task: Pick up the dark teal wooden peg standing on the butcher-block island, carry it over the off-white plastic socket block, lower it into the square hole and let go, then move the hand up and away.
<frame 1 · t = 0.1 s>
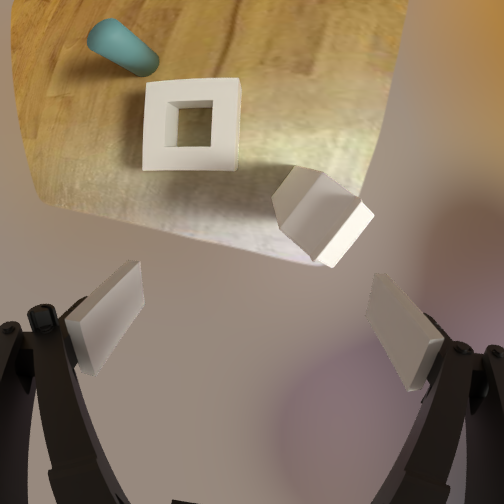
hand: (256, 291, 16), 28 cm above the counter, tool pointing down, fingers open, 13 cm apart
milk: (299, 193, 42), on the counter
socket: (197, 127, 39), on the counter
peg: (145, 63, 35), on the counter
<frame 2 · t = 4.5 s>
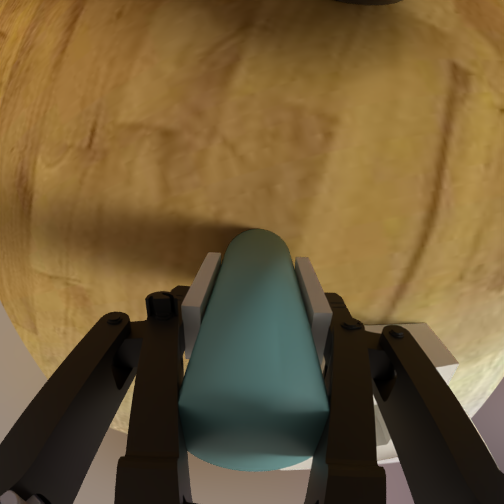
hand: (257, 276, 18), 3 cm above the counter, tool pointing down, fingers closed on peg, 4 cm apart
socket: (350, 379, 23), on the counter
peg: (257, 261, 20), on the counter, touching gripper
when the fingers open (8 cm above the counter, at t = 9.4 s): peg drops 4 cm, resting in socket.
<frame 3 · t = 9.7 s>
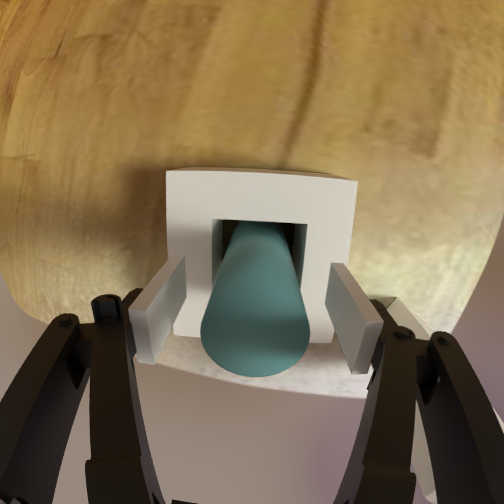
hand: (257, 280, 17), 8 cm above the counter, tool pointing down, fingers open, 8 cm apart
milk: (393, 329, 28), on the counter
socket: (258, 240, 25), on the counter
peg: (258, 240, 25), resting in socket
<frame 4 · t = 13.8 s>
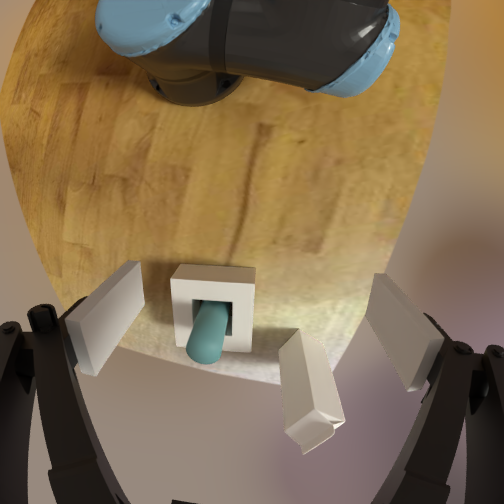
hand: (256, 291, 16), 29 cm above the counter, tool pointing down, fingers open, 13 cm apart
milk: (300, 346, 51), on the counter
socket: (217, 299, 48), on the counter
peg: (217, 299, 48), resting in socket
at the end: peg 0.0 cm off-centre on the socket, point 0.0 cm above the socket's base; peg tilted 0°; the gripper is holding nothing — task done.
